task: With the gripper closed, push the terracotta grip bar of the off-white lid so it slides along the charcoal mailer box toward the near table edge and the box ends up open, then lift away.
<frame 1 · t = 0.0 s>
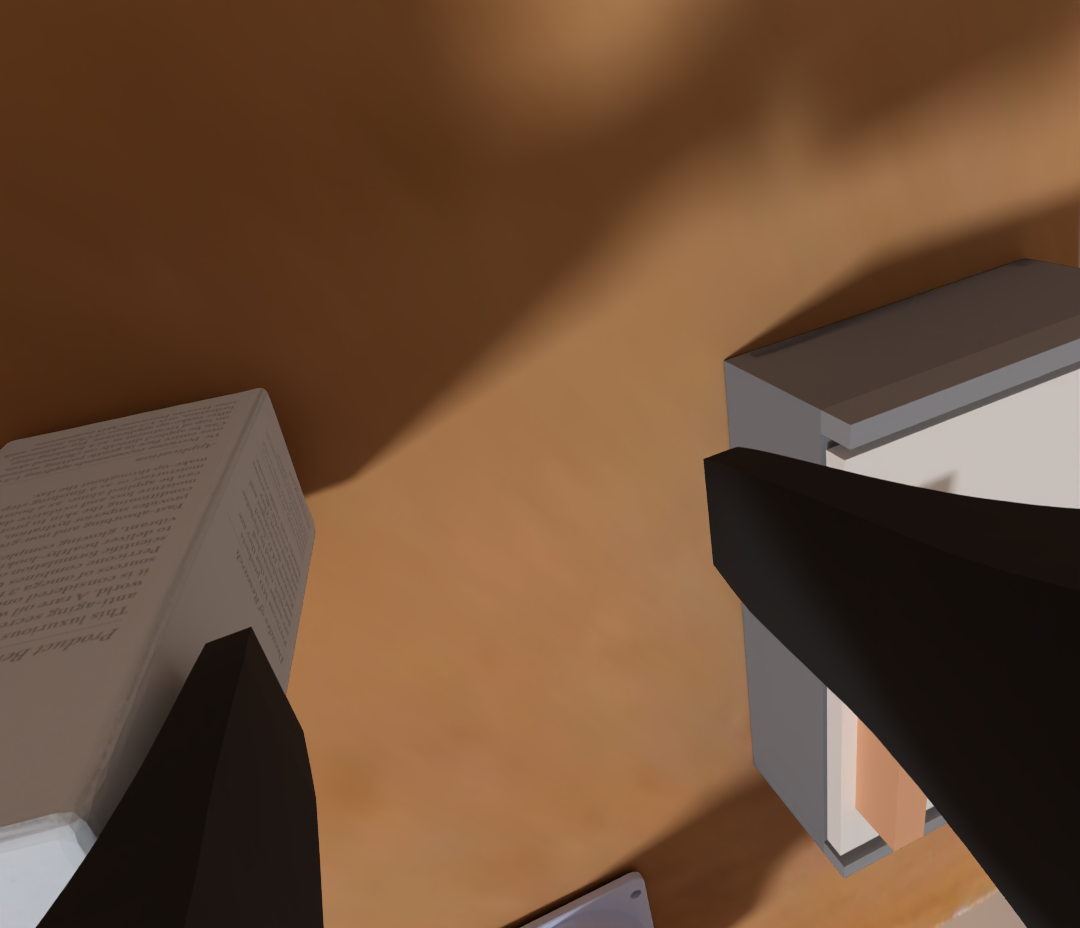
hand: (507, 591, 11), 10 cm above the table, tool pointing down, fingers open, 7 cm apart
skincare box: (180, 483, 18), on the table
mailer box: (874, 539, 29), on the table
lid: (1010, 630, 24), point 6 cm above the table, slide at 0.0 cm
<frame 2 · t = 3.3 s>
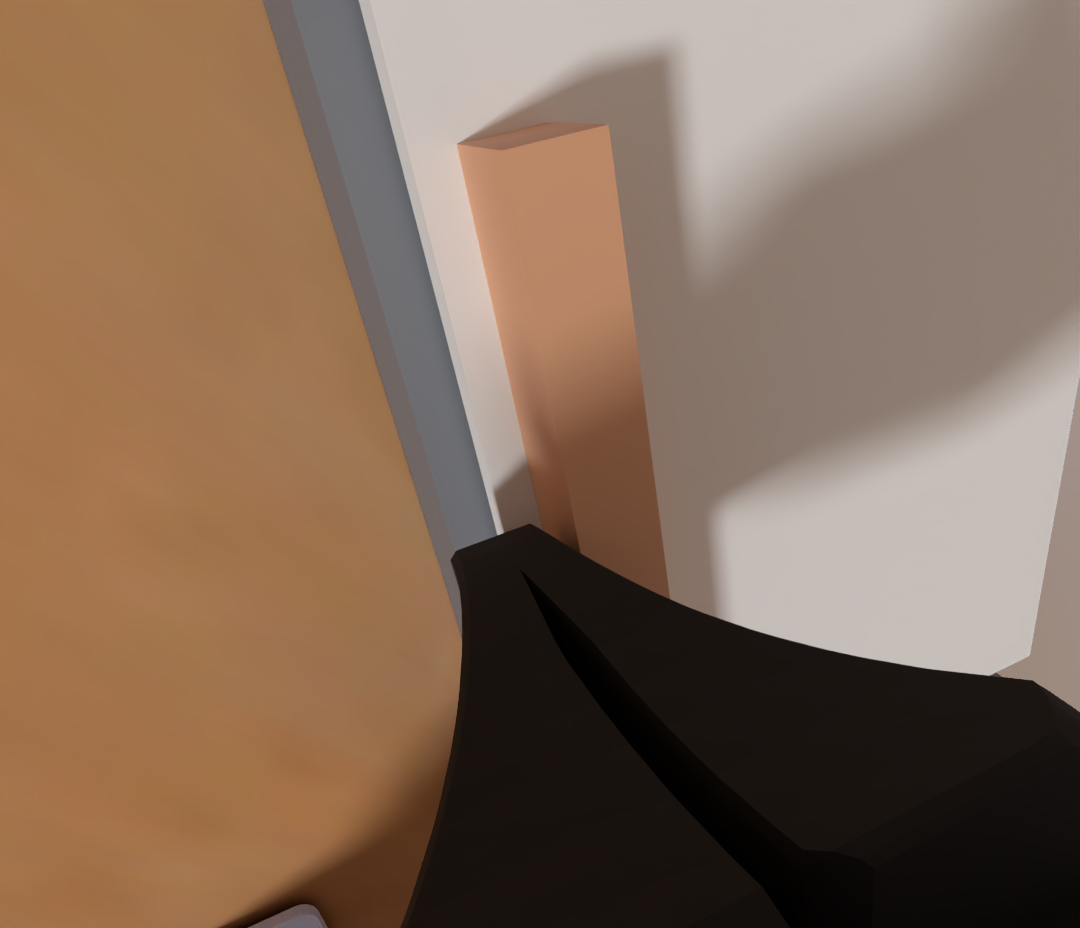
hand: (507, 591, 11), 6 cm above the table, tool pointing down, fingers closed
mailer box: (646, 362, 18), on the table
lid: (849, 449, 13), point 6 cm above the table, slide at 0.7 cm, touching gripper
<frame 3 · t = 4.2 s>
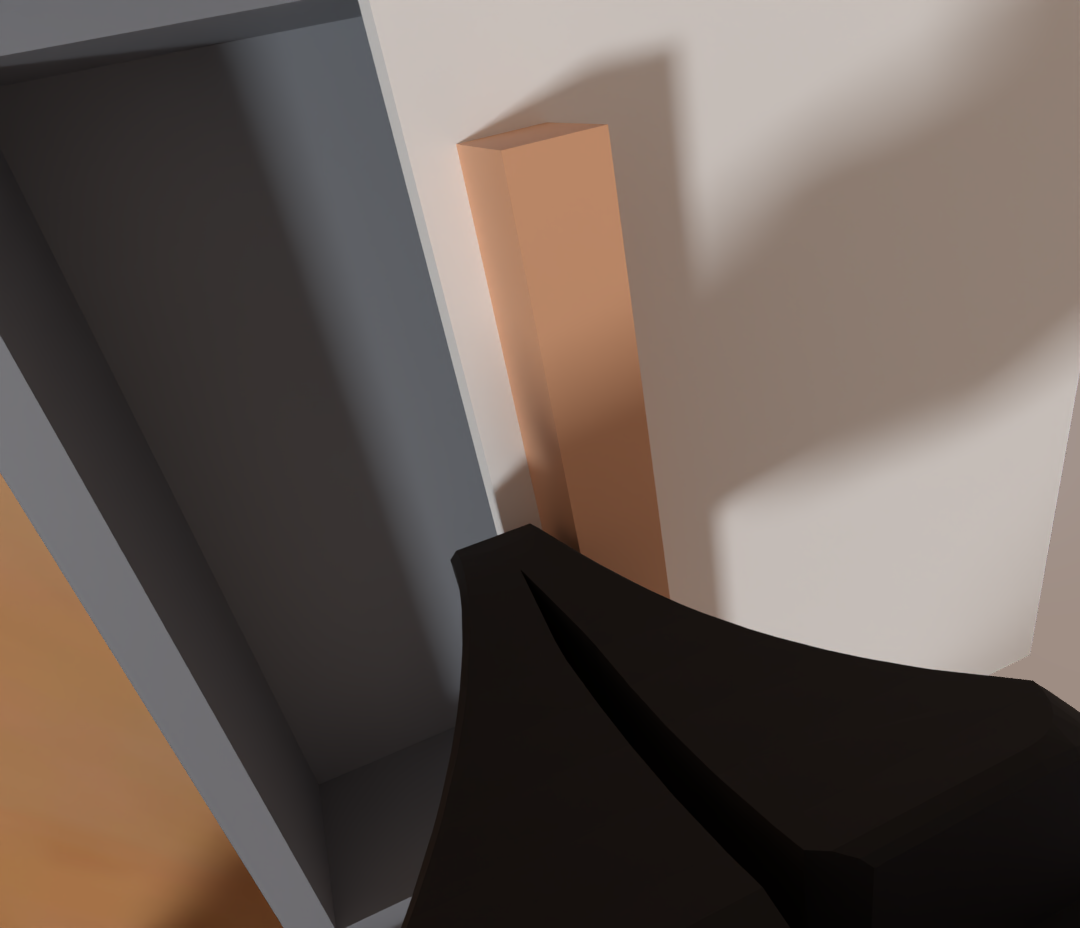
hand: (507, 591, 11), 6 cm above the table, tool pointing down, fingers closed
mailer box: (433, 432, 16), on the table
lid: (849, 449, 13), point 6 cm above the table, slide at 6.0 cm, touching gripper
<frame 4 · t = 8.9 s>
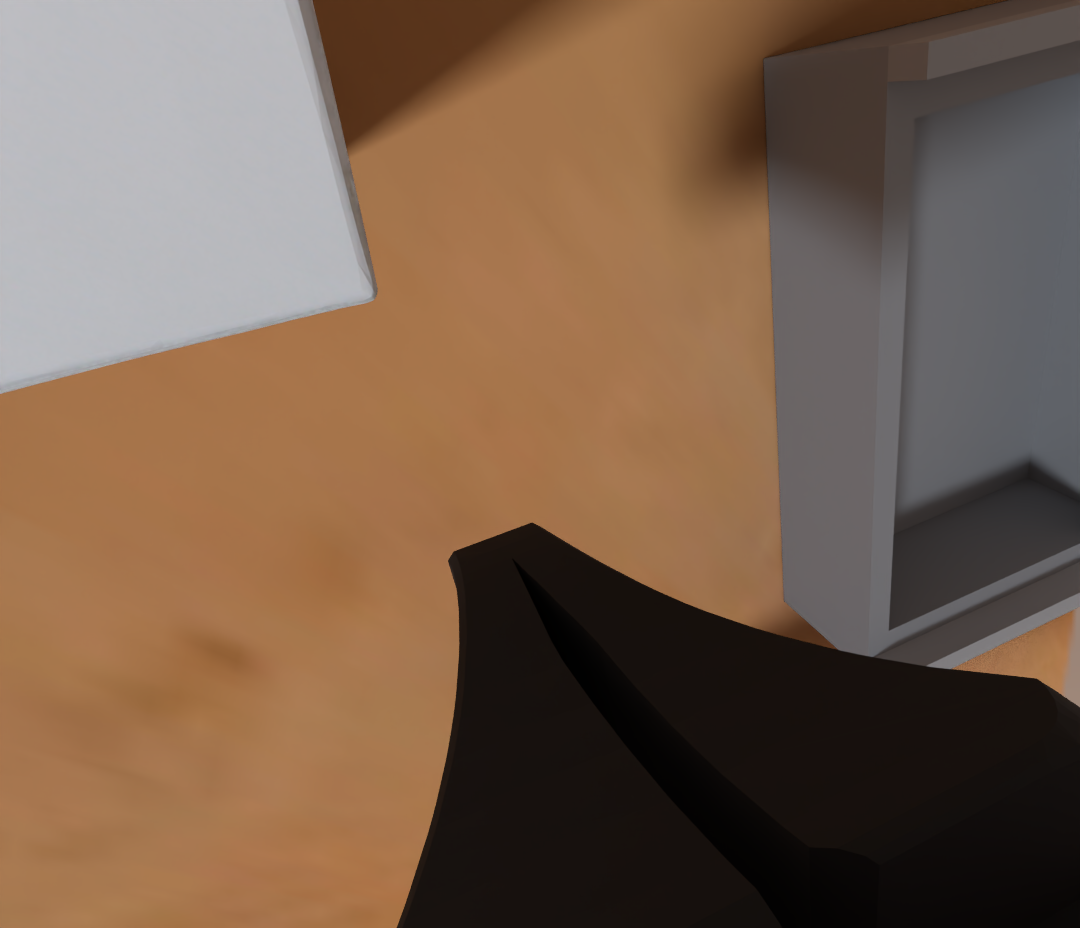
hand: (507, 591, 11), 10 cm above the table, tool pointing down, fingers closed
skincare box: (126, 117, 16), on the table
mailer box: (923, 327, 26), on the table
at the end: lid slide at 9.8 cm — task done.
